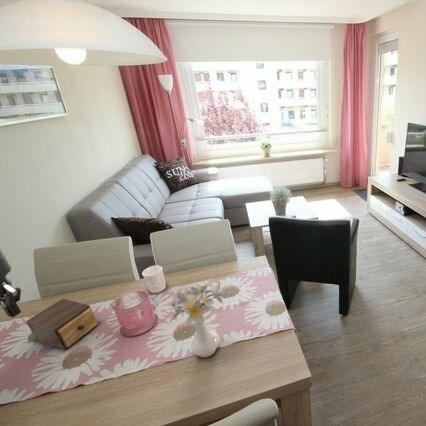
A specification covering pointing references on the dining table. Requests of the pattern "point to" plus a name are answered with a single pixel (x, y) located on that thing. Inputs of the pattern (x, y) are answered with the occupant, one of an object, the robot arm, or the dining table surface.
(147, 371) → the dining table surface
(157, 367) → the dining table surface
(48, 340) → the wooden drawer box
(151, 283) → the white cup
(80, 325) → the wooden drawer with knob
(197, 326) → the flower vase
